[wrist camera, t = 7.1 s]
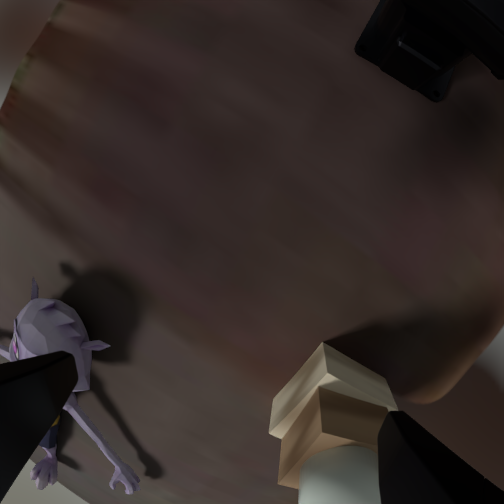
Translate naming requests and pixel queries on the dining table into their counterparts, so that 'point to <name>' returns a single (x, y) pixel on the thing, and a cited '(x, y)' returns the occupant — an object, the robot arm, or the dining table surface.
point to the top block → (328, 430)
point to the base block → (327, 386)
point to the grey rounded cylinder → (340, 477)
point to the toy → (77, 343)
